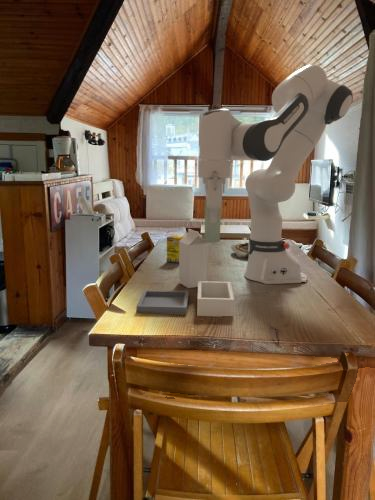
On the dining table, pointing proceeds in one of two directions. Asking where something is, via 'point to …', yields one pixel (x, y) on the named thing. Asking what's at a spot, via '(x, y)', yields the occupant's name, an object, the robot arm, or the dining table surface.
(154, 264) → the dining table surface
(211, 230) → the dowel pin
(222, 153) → the robot arm
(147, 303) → the tray
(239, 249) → the pie
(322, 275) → the dining table surface
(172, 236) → the supplement box
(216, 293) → the white open box
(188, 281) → the milk carton
